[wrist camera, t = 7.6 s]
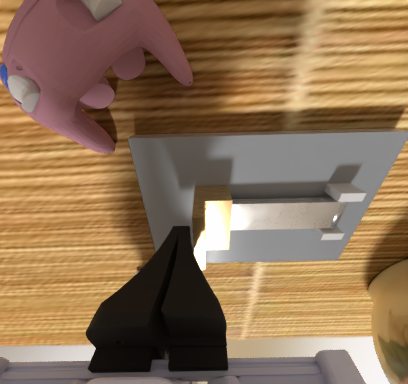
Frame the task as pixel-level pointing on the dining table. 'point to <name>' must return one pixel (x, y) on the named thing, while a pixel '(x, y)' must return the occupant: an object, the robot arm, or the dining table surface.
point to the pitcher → (391, 321)
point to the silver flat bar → (286, 213)
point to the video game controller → (83, 59)
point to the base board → (265, 182)
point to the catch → (211, 220)
